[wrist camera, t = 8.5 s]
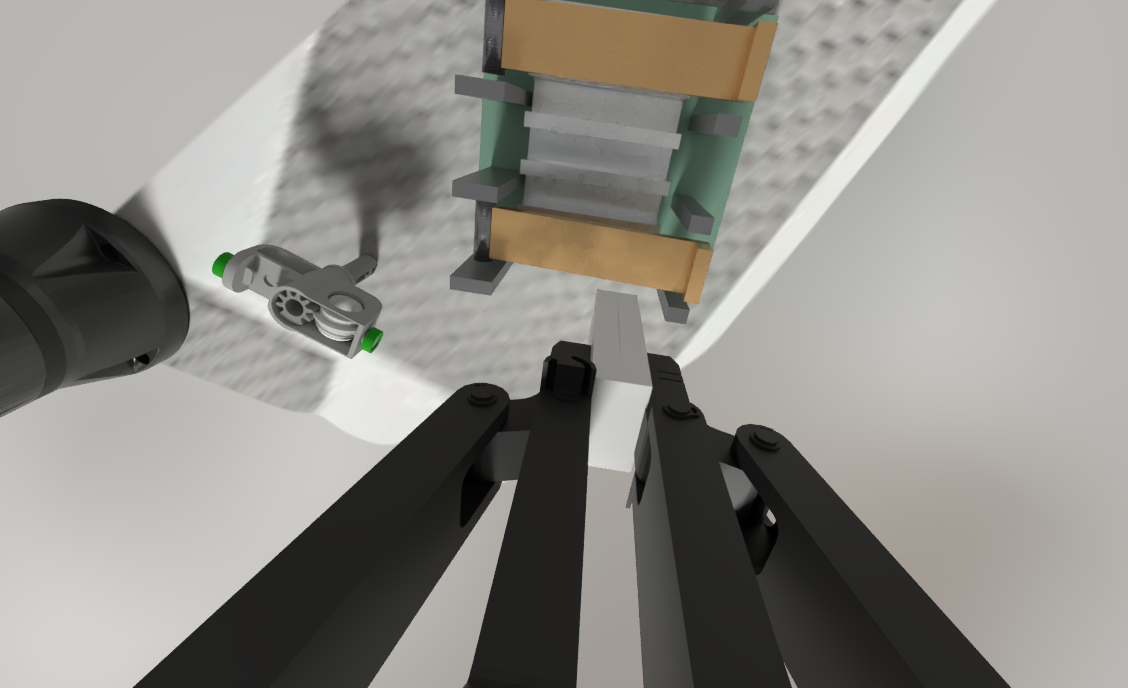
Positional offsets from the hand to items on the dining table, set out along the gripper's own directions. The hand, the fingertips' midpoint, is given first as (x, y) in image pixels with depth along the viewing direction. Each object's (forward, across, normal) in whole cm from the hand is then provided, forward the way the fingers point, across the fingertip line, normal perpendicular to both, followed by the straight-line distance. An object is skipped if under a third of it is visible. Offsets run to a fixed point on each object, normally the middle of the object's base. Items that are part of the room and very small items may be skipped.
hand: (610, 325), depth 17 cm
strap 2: (+11, -1, 0) cm, 11 cm away
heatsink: (+17, -2, +5) cm, 18 cm away
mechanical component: (+19, -19, -6) cm, 27 cm away
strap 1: (+11, -1, +10) cm, 15 cm away
